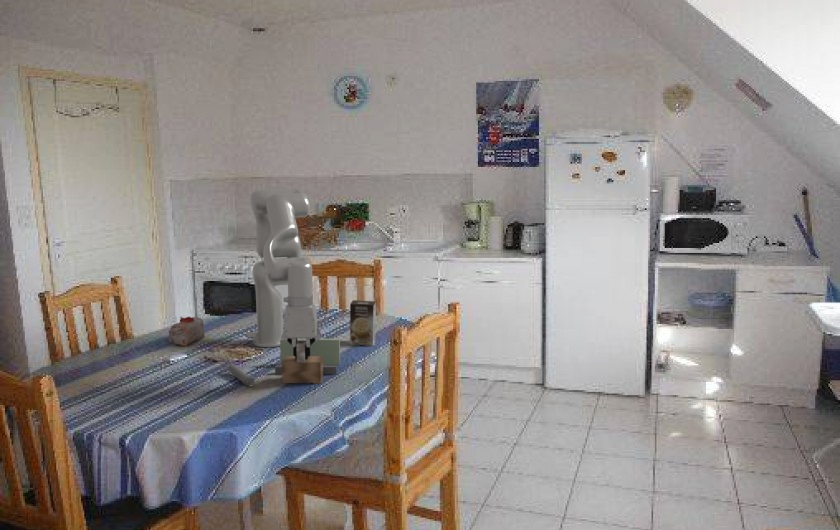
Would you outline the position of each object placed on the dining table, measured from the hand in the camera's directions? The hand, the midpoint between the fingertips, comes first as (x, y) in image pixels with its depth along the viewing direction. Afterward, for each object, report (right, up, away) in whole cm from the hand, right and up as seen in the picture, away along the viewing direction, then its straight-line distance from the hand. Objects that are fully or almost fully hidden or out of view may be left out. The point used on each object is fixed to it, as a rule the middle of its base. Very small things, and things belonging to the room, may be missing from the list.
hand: (302, 357), depth 210 cm
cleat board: (0, -6, +13) cm, 14 cm away
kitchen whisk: (-24, -7, +9) cm, 27 cm away
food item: (-51, 0, +44) cm, 67 cm away
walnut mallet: (0, -8, +2) cm, 8 cm away
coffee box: (+16, -1, +43) cm, 46 cm away
